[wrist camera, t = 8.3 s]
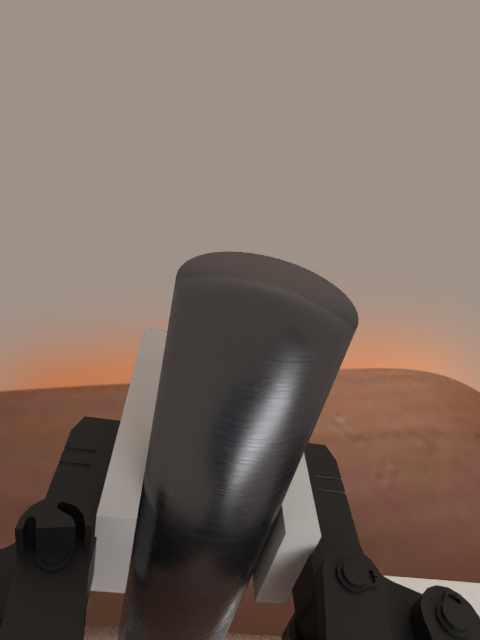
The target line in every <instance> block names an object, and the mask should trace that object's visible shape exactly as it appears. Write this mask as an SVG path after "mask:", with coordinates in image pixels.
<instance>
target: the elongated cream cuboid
mask: <svg viewBox="0 0 480 640" xmlns="http://www.w3.org/2000/svg"><path fill="white" fill-rule="evenodd" d="M384 577H386V578H388V579H389V580H391V581H393V582H395V583H398V584H400V585H402V586H405V587H407V588H409V589H412V590H414V591H416V592H419V593H421V594H423V593H424V592H425V590H426V589H427V588H429V587H432V586H435V585H438V586H443V587H448V588H450V589H452V590H453V591H455V592H457V593H459V594H460V595H461V596H462V597H463V598H465V599H466V600H467V601H468V602H469V603H470V604H471V605H472V607H473V608H474V610H475V611H476V613H477V614H478V616H479V617H480V583H471V582H458V581H446V580H433V579H420V578H408V577H395V576H384Z"/></svg>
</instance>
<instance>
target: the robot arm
mask: <svg viewBox="0 0 480 640" xmlns="http://www.w3.org/2000/svg"><path fill="white" fill-rule="evenodd" d="M166 337H167V331H162V330H155V329H149V328H144V333H143V337H142V340H141V344H140V348H139V352H138V356H137V359H136V364H135V367H134V371H133V375H132V379H131V383H130V387H129V390H128V394H127V398H126V402H125V406H124V410H123V414H122V418H121V421H117V420H109V419H101V418H93V417H84V418H83V419H82V420H81V421H80V422H79V423H78V424H77V425H76V426H75V427H74V428H73V429H72V430H71V432H70V435H69V437H68V440H67V443H66V445H65V449H64V451H63V453H62V456H61V458H60V461H59V465H58V466H57V469H56V472H55V474H54V477H53V480H52V482H51V485H50V488H49V490H48V493H47V495H46V498H45V499H44V500H42V501H40V502H38V503H36V504H34V505H32V506H31V507H30V508H29V509H28V510H27V511H26V512H25V513H24V514H23V515H22V516H21V517H20V519H19V522H18V524H17V526H16V528H15V538H16V543H14V544H12V545H10V546H8V547H7V548H4V549H1V550H0V640H84V629H85V618H86V606H87V602H88V598H89V593H90V591H100V592H115V593H125V591H126V585H127V579H128V573H129V567H130V561H131V555H132V549H133V543H134V536H135V530H136V524H137V517H138V511H139V505H140V498H141V492H142V486H143V479H144V473H145V467H146V460H147V454H148V448H149V442H150V436H151V429H152V423H153V417H154V411H155V405H156V399H157V392H158V386H159V380H160V374H161V368H162V361H163V355H164V349H165V343H166ZM344 492H345V490H344V487H343V483H342V481H341V476H340V472H339V469H338V465H337V462H336V460H335V458H334V457H333V455H332V454H331V453H330V451H329V450H328V448H327V447H326V446H325V445H319V444H311V443H308V444H307V446H306V449H305V451H304V453H303V456H302V458H301V460H300V463H299V465H298V467H297V470H296V472H295V474H294V477H293V479H292V482H291V484H290V486H289V489H288V491H287V493H286V496H285V498H284V500H283V503H282V505H281V507H280V510H279V512H278V515H277V517H276V519H275V522H274V524H273V526H272V529H271V531H270V533H269V536H268V538H267V540H266V543H265V545H264V548H263V550H262V552H261V555H260V557H259V559H258V562H257V564H256V566H255V569H254V571H253V580H254V596H255V602H263V603H278V604H286V603H287V601H288V599H289V597H290V596H291V594H292V592H293V599H294V607H295V613H294V614H293V616H292V618H291V620H290V622H289V624H288V625H287V627H286V629H285V631H284V633H283V635H282V640H480V617H479V616H478V614H477V613H476V611H475V610H474V608H473V607H472V605H471V604H470V603H469V602H468V601H467V600H466V599H465V598H463V597H462V596H461V595H460V594H459V593H457V592H455V591H453V590H452V589H450V588H448V587H443V586H438V585H435V586H432V587H429V588H427V589H426V590H425V592H424V593H423V594H421V593H419V592H416V591H414V590H412V589H409V588H407V587H405V586H402V585H400V584H398V583H395V582H393V581H391V580H389V579H388V578H386V577H384V576H383V575H382V574H380V573H379V571H378V569H377V568H376V567H375V565H374V564H373V562H372V561H371V560H370V559H369V558H368V557H367V556H365V555H364V554H363V551H362V549H361V546H360V543H359V540H358V536H357V533H356V529H355V526H354V522H353V519H352V515H351V511H350V508H349V504H348V501H347V497H346V495H345V494H344Z"/></svg>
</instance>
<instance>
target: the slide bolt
mask: <svg viewBox="0 0 480 640" xmlns="http://www.w3.org/2000/svg"><path fill="white" fill-rule="evenodd" d="M357 326H358V314H357V311H356V309H355V307H354V305H353V304H352V302H351V301H350V299H348V297H347V296H346V295H345V294H344V293H343V292H342V291H341V290H340V289H338V288H337V287H336V286H335V285H333V284H332V283H330V282H329V281H327V280H326V279H324V278H322V277H321V276H319V275H317V274H315V273H313V272H311V271H309V270H307V269H305V268H302V267H300V266H298V265H295V264H292V263H289V262H286V261H283V260H280V259H276V258H273V257H268V256H264V255H258V254H252V253H243V252H215V253H208V254H204V255H200V256H197V257H194V258H192V259H190V260H188V261H187V262H185V263H184V264H183V265H182V266H181V267H180V269H179V270H178V273H177V276H176V281H175V287H174V294H173V300H172V306H171V312H170V318H169V325H168V331H167V337H166V343H165V349H164V355H163V361H162V368H161V374H160V380H159V386H158V392H157V399H156V405H155V411H154V417H153V423H152V429H151V436H150V442H149V448H148V454H147V460H146V467H145V473H144V479H143V486H142V492H141V498H140V505H139V511H138V517H137V524H136V530H135V536H134V543H133V549H132V555H131V561H130V567H129V573H128V579H127V585H126V591H125V596H124V602H123V609H122V615H121V621H120V627H108V626H90V625H85V629H84V640H282V636H270V635H252V634H234V633H227V632H228V630H229V628H230V625H231V623H232V621H233V618H234V616H235V614H236V611H237V609H238V607H239V604H240V602H241V599H242V597H243V595H244V592H245V590H246V588H247V585H248V583H249V581H250V578H251V576H252V574H253V571H254V569H255V566H256V564H257V562H258V559H259V557H260V555H261V552H262V550H263V548H264V545H265V543H266V540H267V538H268V536H269V533H270V531H271V529H272V526H273V524H274V522H275V519H276V517H277V515H278V512H279V510H280V507H281V505H282V503H283V500H284V498H285V496H286V493H287V491H288V489H289V486H290V484H291V482H292V479H293V477H294V474H295V472H296V470H297V467H298V465H299V463H300V460H301V458H302V456H303V453H304V451H305V449H306V446H307V444H308V441H309V439H310V437H311V434H312V432H313V430H314V427H315V425H316V423H317V420H318V418H319V416H320V413H321V411H322V408H323V406H324V404H325V401H326V399H327V397H328V394H329V392H330V390H331V387H332V385H333V383H334V380H335V378H336V375H337V373H338V371H339V368H340V366H341V364H342V361H343V359H344V357H345V354H346V352H347V349H348V347H349V345H350V342H351V340H352V338H353V335H354V333H355V330H356V328H357Z"/></svg>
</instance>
